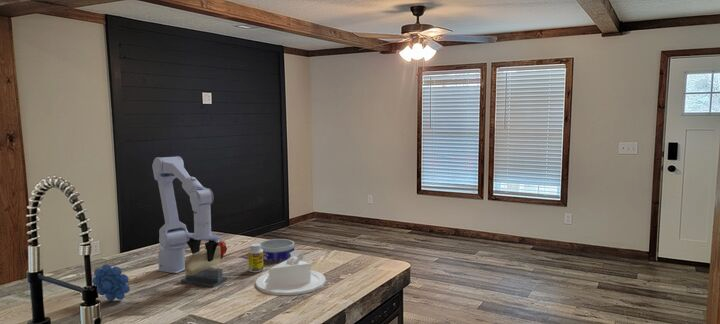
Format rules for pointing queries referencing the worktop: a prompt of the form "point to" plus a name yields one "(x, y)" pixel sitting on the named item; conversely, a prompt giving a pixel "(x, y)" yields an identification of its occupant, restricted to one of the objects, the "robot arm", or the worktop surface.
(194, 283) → the balance ridge
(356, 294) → the worktop surface
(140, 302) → the worktop surface
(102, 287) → the grapes
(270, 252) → the dog bowl
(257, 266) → the supplement bottle
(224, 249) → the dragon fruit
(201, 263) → the maple bar
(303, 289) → the dish
